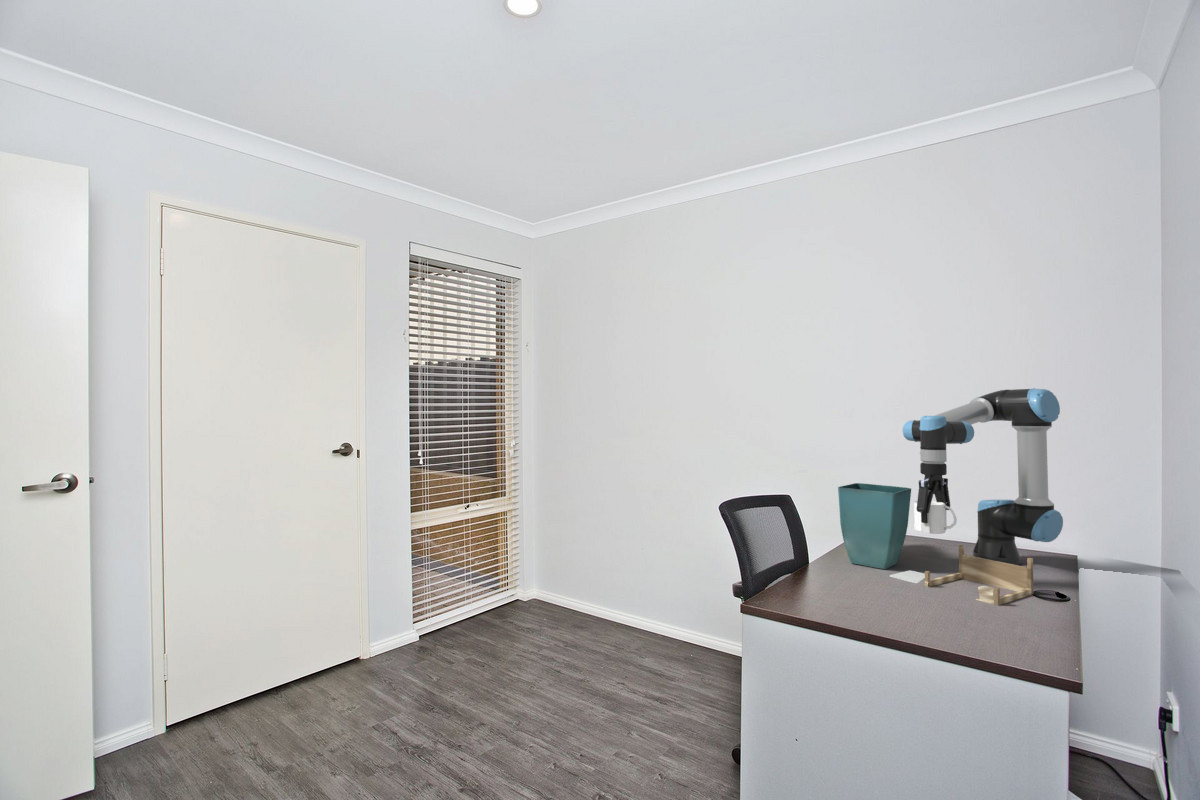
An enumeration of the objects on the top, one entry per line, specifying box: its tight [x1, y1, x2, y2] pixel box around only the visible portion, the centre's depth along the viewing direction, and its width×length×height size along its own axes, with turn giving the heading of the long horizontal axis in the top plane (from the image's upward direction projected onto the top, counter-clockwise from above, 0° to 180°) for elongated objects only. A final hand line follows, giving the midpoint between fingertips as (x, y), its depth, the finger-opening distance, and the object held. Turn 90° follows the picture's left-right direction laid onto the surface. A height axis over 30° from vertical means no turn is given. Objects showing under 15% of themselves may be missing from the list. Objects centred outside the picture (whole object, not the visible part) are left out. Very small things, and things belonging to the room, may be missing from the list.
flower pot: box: [837, 482, 912, 570], centre depth 218 cm, size 20×20×28 cm
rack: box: [924, 544, 1034, 606], centre depth 182 cm, size 21×21×12 cm
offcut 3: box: [975, 598, 994, 605], centre depth 172 cm, size 5×4×2 cm
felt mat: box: [889, 569, 925, 584], centre depth 199 cm, size 12×12×1 cm
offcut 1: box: [977, 585, 995, 596], centre depth 172 cm, size 4×3×2 cm
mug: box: [913, 500, 958, 535], centre depth 194 cm, size 12×9×9 cm
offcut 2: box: [978, 592, 994, 604], centre depth 172 cm, size 4×4×2 cm
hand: (933, 531), depth 194 cm, fingers closed on mug, 9 cm apart
